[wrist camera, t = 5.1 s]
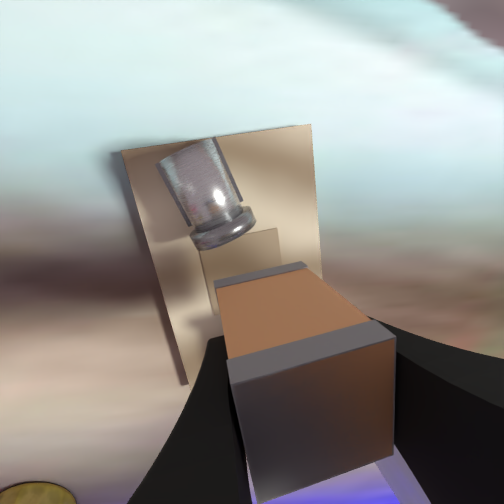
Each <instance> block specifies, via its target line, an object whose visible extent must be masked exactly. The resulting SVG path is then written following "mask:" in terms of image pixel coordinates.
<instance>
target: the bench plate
mask: <svg viewBox="0 0 504 504" xmlns="http://www.w3.org/2000/svg"><path fill="white" fill-rule="evenodd" d="M207 139H211V138H207ZM207 139H200V140H193V141H185V142H178V143H171V144H164V145H157V146H150V147H143V148H135V149H128V150H121V153H122V157H123V160H124V163H125V167H126V170H127V174H128V177H129V181H130V184H131V187H132V191H133V194H134V198H135V201H136V205H137V208H138V211H139V215H140V218H141V222H142V225H143V229H144V232H145V235H146V239H147V242H148V246H149V249H150V252H151V256H152V259H153V263H154V266H155V270H156V273H157V276H158V280H159V283H160V287H161V290H162V294H163V297H164V300H165V304H166V307H167V311H168V314H169V318H170V321H171V324H172V328H173V331H174V335H175V338H176V342H177V345H178V348H179V352H180V355H181V359H182V362H183V366H184V369H185V372H186V376H187V379H188V383H189V386H190V390H191V391H192V388H193V386H194V384H195V381H196V378H197V376H198V373H199V370H200V367H201V364H202V361H203V358H204V355H205V351H206V347H207V342H208V340H209V339H210V338H214V337H218V336H222V335H224V332H223V326H222V320H221V316H220V311H219V306H218V302H217V297H216V293H215V288H214V282H213V281H214V280H218V279H223V278H227V277H232V276H236V275H241V274H245V273H250V272H254V271H259V270H263V269H268V268H272V267H276V266H281V265H285V264H290V263H294V262H299V261H302V262H303V263H305V264H306V265H307V266H308V268H309V270H311V271H312V272H313V273H314V274H316V275H317V276H318V277H319V278H320V279H322V268H321V254H320V240H319V227H318V213H317V199H316V185H315V171H314V157H313V144H312V130H311V124H307V125H300V126H292V127H285V128H278V129H271V130H264V131H257V132H250V133H242V134H235V135H228V136H221V137H216V139H217V142H218V144H219V146H220V148H221V151H222V153H223V155H224V158H225V160H226V162H227V164H228V167H229V169H230V171H231V173H232V176H233V178H234V180H235V182H236V185H237V187H238V189H239V191H240V194H241V196H242V198H243V200H244V201H242V202H240V203H241V205H242V207H243V206H250V207H251V209H252V212H253V214H254V216H255V219H256V224H255V225H254V227H253V228H251V229H250V230H249V231H248V232H246V233H245V234H243V235H242V236H240V237H239V238H237V239H235V240H233V241H231V242H229V243H227V244H224V245H222V246H220V247H217V248H214V249H210V250H206V251H198V250H197V249H196V247H195V245H194V244H193V242H192V240H191V238H190V236H189V235H190V233H191V232H192V231H193V230H194V227H193V226H190V227H188V225H187V223H186V221H185V219H184V218H183V216H182V214H181V212H180V210H179V208H178V207H177V205H176V203H175V201H174V199H173V197H172V195H171V194H170V192H169V190H168V188H167V186H166V184H165V183H164V181H163V179H162V177H161V175H160V173H159V171H158V170H157V168H156V166H155V164H156V163H159V162H160V161H161V160H163V159H164V158H166V157H168V156H170V155H172V154H173V153H175V152H177V151H180V150H182V149H184V148H186V147H188V146H191V145H193V144H195V143H198V142H201V141H203V140H207Z"/></svg>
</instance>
